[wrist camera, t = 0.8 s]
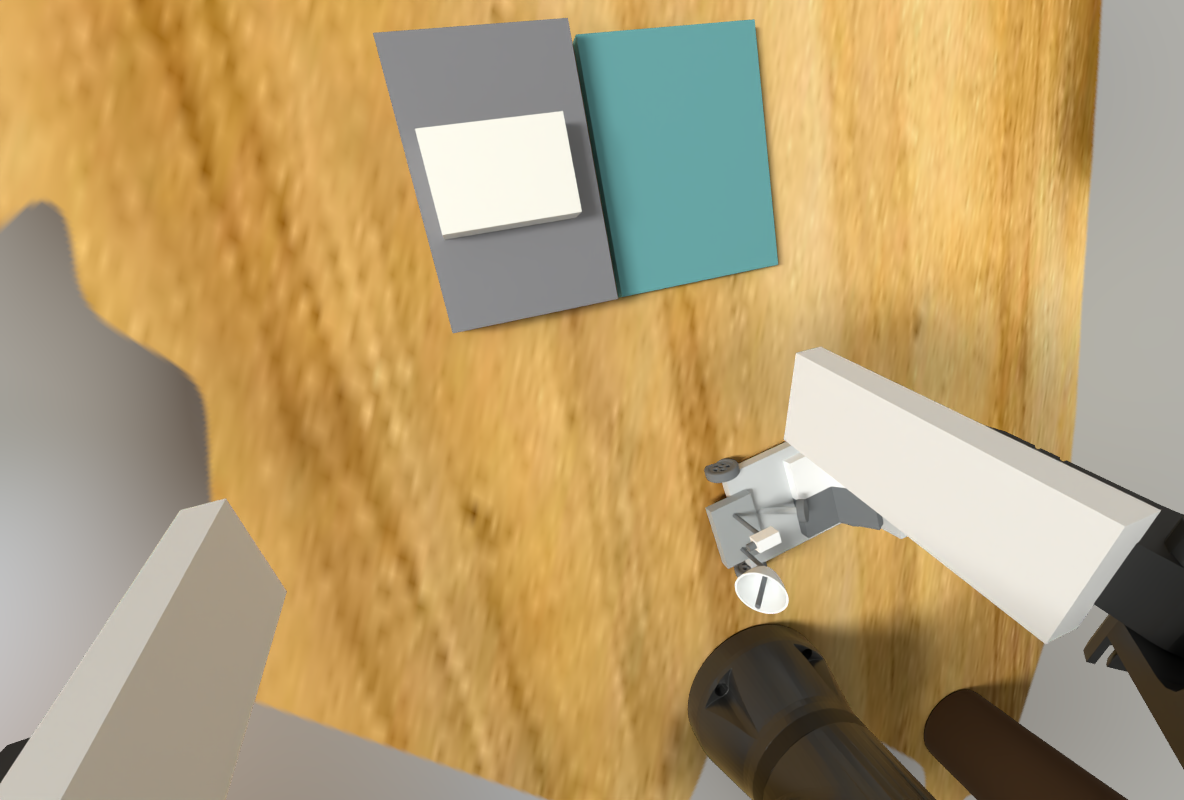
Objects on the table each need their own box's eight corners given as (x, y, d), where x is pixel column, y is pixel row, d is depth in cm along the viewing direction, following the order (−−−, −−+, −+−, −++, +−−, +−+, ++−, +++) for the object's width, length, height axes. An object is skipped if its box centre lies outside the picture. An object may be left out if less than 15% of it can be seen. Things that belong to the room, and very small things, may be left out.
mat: (770, 265, 40) (778, 264, 39) (618, 297, 37) (622, 296, 36) (746, 27, 35) (754, 19, 34) (573, 42, 33) (575, 34, 32)
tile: (575, 217, 32) (581, 211, 30) (444, 239, 30) (442, 234, 28) (557, 123, 31) (562, 110, 29) (418, 140, 29) (414, 128, 27)
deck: (606, 299, 37) (617, 298, 34) (454, 331, 34) (452, 333, 31) (559, 43, 32) (567, 17, 30) (382, 59, 30) (372, 32, 27)
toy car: (768, 653, 35) (730, 527, 32) (706, 582, 45) (672, 479, 42) (952, 552, 38) (933, 428, 35) (858, 505, 47) (836, 404, 45)
